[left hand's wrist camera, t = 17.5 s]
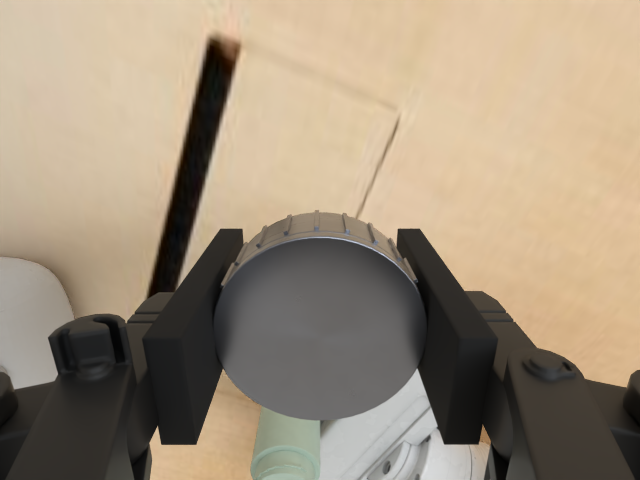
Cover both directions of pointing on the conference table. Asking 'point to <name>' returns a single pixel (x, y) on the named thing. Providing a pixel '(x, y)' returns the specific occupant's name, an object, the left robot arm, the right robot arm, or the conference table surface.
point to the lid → (320, 318)
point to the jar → (286, 448)
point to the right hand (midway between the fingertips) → (282, 390)
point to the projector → (29, 320)
